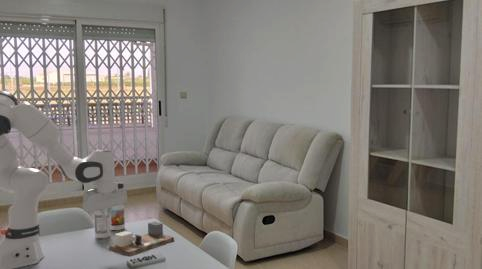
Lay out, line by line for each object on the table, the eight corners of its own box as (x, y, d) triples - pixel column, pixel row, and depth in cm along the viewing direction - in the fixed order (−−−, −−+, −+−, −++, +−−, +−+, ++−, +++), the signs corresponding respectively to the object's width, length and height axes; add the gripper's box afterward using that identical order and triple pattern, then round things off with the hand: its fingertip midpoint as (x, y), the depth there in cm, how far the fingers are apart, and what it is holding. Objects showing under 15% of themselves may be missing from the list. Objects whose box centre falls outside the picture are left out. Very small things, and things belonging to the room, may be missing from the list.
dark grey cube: (156, 236, 218) (156, 225, 218) (148, 234, 222) (147, 223, 222) (162, 234, 222) (162, 223, 221) (154, 232, 225) (154, 221, 225)
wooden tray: (128, 255, 198) (128, 251, 197) (109, 249, 206) (109, 245, 206) (173, 240, 218) (173, 236, 218) (154, 234, 226) (154, 231, 226)
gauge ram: (125, 248, 202) (124, 237, 202) (114, 245, 207) (114, 234, 206) (139, 243, 208) (139, 232, 208) (129, 240, 213) (129, 229, 213)
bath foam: (101, 234, 229) (99, 194, 227) (113, 235, 227) (111, 195, 225) (92, 238, 222) (90, 197, 221) (104, 239, 220) (102, 198, 218)
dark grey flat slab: (142, 246, 205) (142, 237, 204) (135, 243, 208) (134, 235, 208) (144, 245, 206) (144, 236, 205) (137, 243, 209) (136, 234, 209)
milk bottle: (106, 230, 234) (104, 192, 233) (114, 226, 242) (113, 188, 240) (119, 231, 232) (118, 192, 230) (127, 227, 240) (126, 189, 238)
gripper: (87, 192, 188) (89, 225, 189) (128, 183, 204) (130, 213, 205) (78, 190, 192) (80, 222, 193) (119, 181, 208) (121, 211, 209)
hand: (106, 218), depth 199 cm, fingers closed
